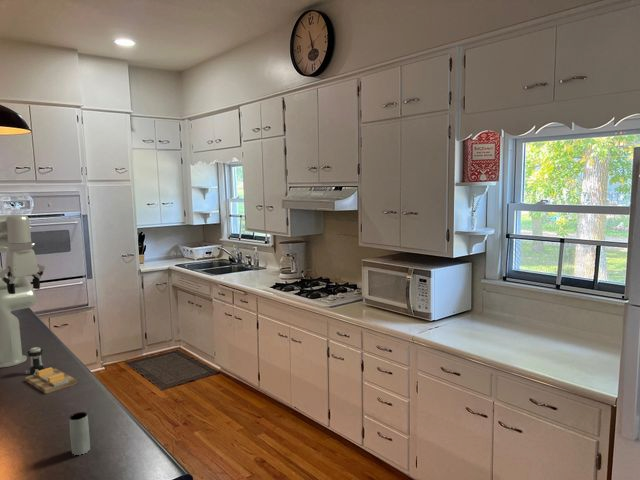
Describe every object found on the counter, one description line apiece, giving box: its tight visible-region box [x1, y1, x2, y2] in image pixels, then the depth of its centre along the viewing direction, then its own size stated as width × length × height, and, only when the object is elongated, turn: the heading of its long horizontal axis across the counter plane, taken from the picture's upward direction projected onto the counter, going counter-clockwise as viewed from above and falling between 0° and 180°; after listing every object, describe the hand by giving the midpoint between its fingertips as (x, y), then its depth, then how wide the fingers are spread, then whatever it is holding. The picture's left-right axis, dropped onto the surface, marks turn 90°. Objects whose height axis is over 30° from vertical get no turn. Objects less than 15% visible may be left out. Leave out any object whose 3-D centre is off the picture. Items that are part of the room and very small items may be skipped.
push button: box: [24, 346, 45, 375], centre depth 187 cm, size 7×5×10 cm
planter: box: [68, 411, 91, 456], centre depth 129 cm, size 4×4×10 cm
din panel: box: [24, 368, 78, 394], centre depth 178 cm, size 19×11×2 cm, turn 51°
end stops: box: [37, 367, 64, 382], centre depth 178 cm, size 12×5×2 cm, turn 51°
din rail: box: [33, 372, 69, 387], centre depth 178 cm, size 19×5×1 cm, turn 51°
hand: (24, 291), depth 182 cm, fingers open, 9 cm apart
